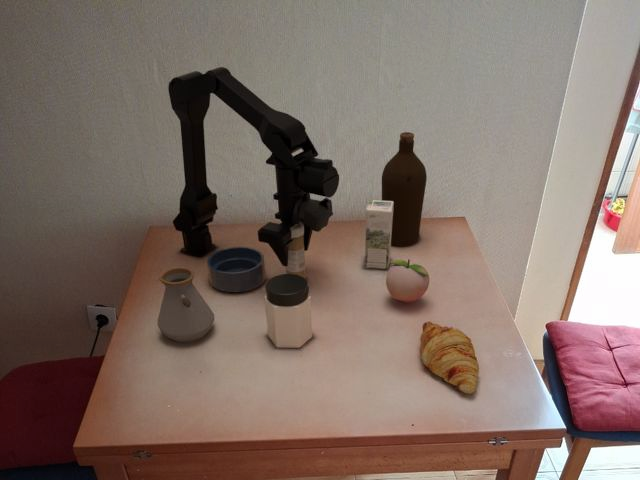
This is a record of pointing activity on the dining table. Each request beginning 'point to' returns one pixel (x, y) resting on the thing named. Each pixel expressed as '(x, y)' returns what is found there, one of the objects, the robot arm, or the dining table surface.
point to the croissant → (450, 356)
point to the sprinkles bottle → (296, 252)
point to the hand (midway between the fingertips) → (295, 258)
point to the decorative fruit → (407, 280)
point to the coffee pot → (183, 307)
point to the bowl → (236, 269)
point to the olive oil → (405, 191)
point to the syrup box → (378, 234)
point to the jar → (288, 310)
